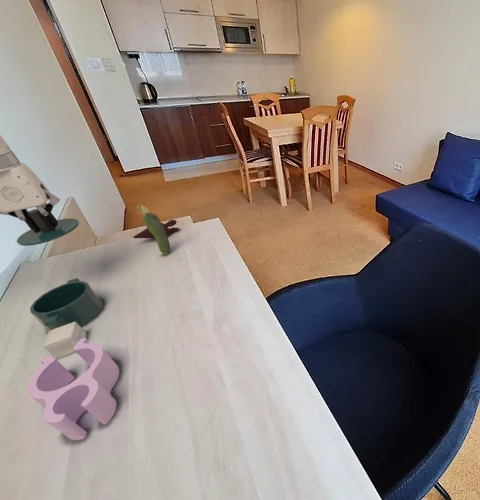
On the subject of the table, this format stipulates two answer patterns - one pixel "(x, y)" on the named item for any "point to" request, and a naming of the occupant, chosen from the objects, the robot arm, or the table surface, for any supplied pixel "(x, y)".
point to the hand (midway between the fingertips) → (46, 228)
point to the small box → (63, 339)
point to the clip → (76, 389)
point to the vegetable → (155, 229)
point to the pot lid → (45, 230)
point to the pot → (67, 305)
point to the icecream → (148, 234)
